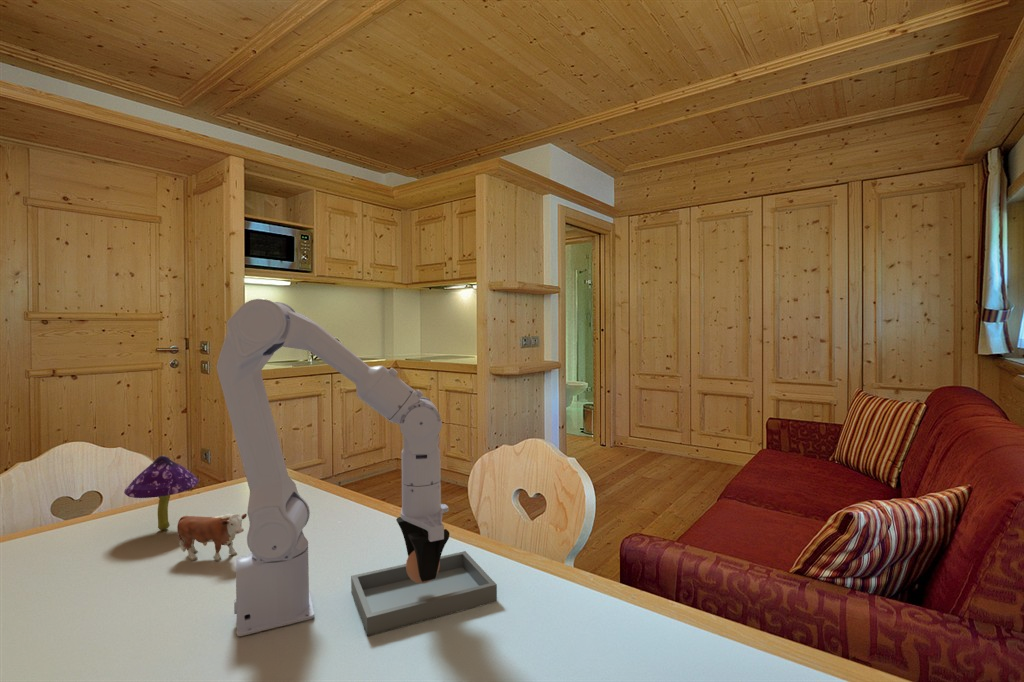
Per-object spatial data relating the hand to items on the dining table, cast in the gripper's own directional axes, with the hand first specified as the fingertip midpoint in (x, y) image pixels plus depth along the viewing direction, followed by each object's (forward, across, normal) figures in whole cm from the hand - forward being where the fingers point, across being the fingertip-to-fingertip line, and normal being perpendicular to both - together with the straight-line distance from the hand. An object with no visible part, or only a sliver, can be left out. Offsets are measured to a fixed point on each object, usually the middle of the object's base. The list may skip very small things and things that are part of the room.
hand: (422, 571), depth 76 cm
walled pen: (+4, 0, 0) cm, 4 cm away
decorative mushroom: (+4, +49, +39) cm, 63 cm away
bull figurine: (+4, +30, +29) cm, 42 cm away
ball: (-1, 0, 0) cm, 1 cm away
